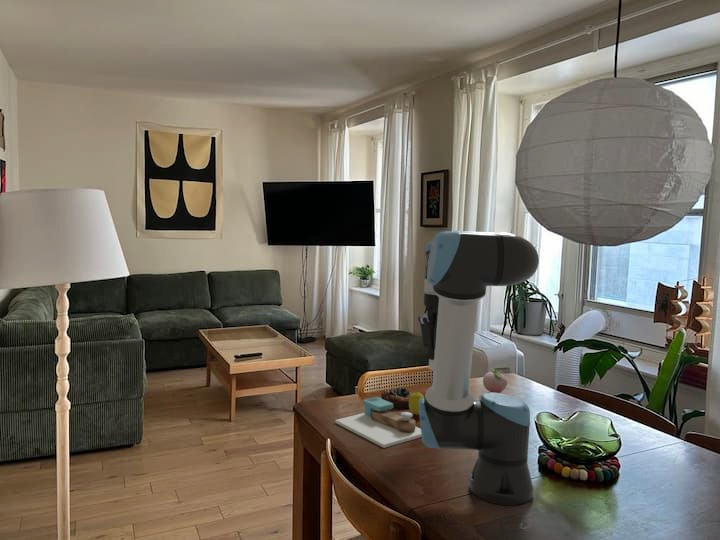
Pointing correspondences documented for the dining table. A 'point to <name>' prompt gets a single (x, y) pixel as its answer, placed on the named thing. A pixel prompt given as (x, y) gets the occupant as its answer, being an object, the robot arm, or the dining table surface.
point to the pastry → (397, 398)
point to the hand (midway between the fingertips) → (433, 369)
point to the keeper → (376, 405)
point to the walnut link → (393, 420)
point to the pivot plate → (378, 429)
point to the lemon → (415, 402)
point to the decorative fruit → (494, 381)
